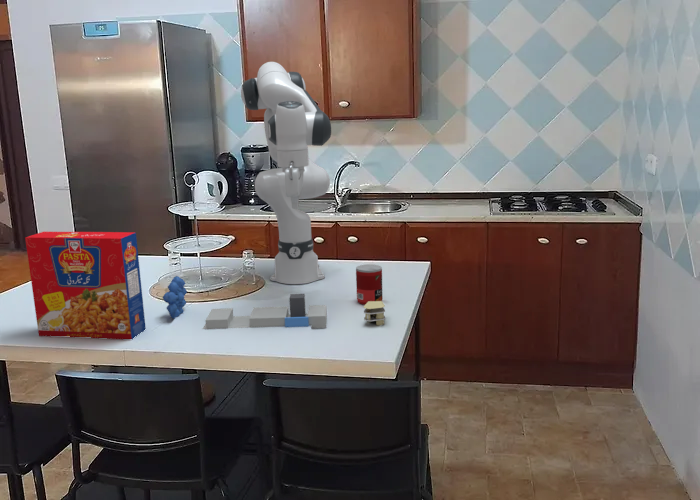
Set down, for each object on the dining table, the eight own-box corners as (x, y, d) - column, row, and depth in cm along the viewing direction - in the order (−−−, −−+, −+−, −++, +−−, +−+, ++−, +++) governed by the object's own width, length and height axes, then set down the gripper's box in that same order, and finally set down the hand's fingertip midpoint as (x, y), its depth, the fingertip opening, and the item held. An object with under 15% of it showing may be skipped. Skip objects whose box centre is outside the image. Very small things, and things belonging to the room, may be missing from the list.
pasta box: (38, 336, 192) (25, 237, 186) (56, 326, 200) (43, 231, 194) (131, 339, 187) (120, 238, 181) (145, 329, 194) (135, 232, 188)
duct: (209, 320, 200) (208, 309, 200) (326, 316, 201) (326, 305, 200) (202, 333, 190) (201, 321, 189) (326, 329, 190) (325, 316, 189)
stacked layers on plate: (358, 318, 199) (358, 300, 198) (389, 317, 199) (389, 299, 198) (358, 330, 190) (358, 311, 188) (391, 329, 189) (391, 310, 188)
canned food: (380, 305, 209) (379, 270, 207) (354, 305, 211) (353, 270, 208) (384, 298, 216) (383, 264, 214) (359, 297, 218) (358, 263, 215)
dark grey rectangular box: (291, 317, 198) (290, 294, 196) (305, 317, 198) (304, 293, 196) (290, 322, 194) (289, 298, 192) (305, 321, 194) (303, 297, 192)
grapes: (171, 310, 211) (167, 272, 209) (192, 310, 211) (189, 272, 208) (156, 322, 200) (152, 282, 197) (179, 323, 199) (175, 282, 197)
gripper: (302, 163, 186) (304, 213, 189) (305, 156, 206) (307, 202, 209) (278, 164, 186) (281, 214, 189) (284, 157, 206) (287, 202, 209)
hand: (295, 208), depth 200 cm, fingers closed
